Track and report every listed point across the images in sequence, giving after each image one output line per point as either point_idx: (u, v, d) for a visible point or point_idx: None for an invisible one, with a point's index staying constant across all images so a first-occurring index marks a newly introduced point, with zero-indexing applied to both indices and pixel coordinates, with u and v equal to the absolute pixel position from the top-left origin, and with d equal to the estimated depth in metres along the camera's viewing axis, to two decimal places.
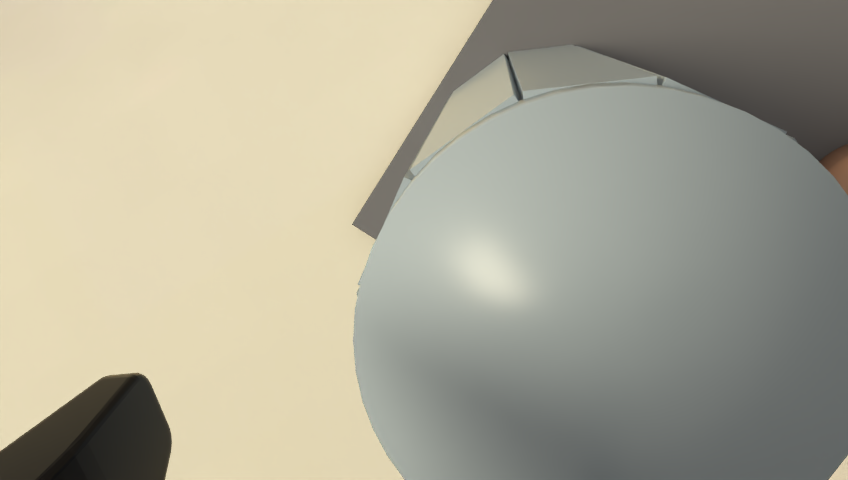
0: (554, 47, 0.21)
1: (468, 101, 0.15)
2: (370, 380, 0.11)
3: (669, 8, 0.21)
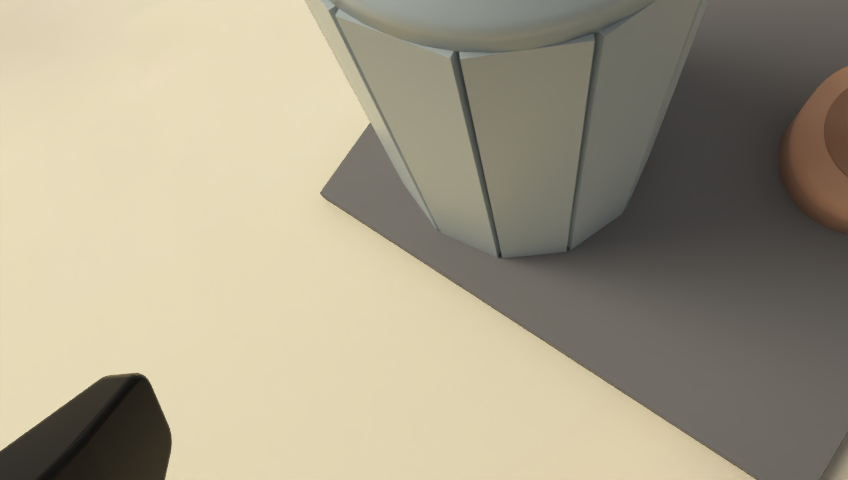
0: None
1: None
2: None
3: None
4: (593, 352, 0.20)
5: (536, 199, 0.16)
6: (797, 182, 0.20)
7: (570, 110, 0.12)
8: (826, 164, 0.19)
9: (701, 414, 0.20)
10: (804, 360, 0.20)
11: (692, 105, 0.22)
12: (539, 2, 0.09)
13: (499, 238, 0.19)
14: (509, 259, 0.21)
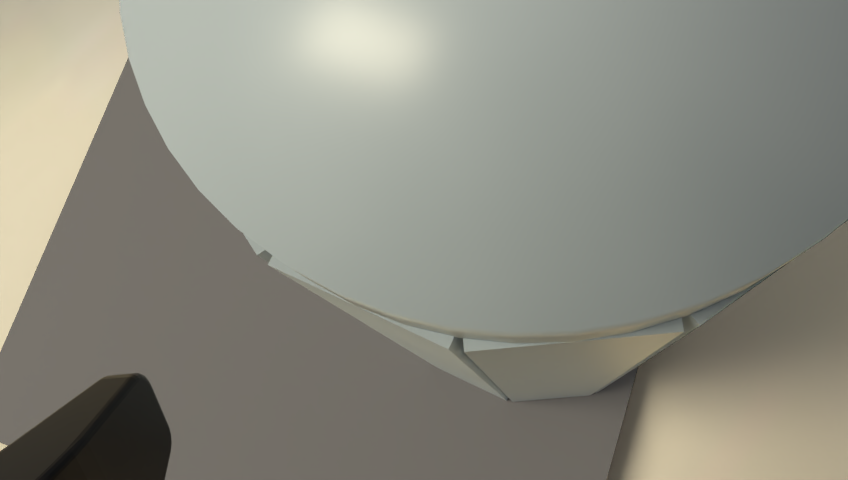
0: None
1: None
2: None
3: None
4: None
5: (561, 386, 0.13)
6: None
7: (625, 358, 0.08)
8: None
9: None
10: None
11: None
12: (600, 302, 0.05)
13: (510, 398, 0.15)
14: (186, 454, 0.18)
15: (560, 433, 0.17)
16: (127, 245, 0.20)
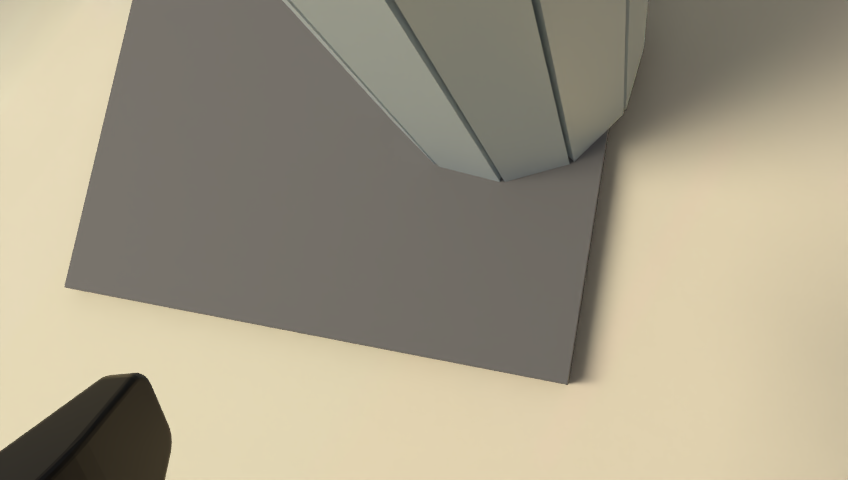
0: None
1: None
2: None
3: None
4: (343, 325, 0.21)
5: (515, 110, 0.15)
6: None
7: (513, 0, 0.11)
8: None
9: (453, 340, 0.20)
10: (522, 251, 0.20)
11: None
12: None
13: (492, 160, 0.18)
14: (243, 274, 0.22)
15: (548, 199, 0.20)
16: (166, 117, 0.23)
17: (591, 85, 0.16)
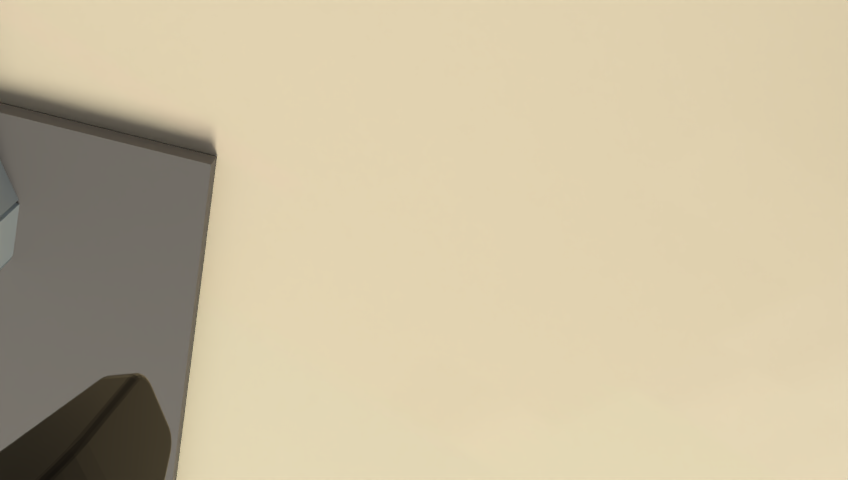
0: None
1: None
2: None
3: None
4: (175, 343, 0.23)
5: None
6: None
7: None
8: None
9: (179, 256, 0.21)
10: (85, 190, 0.20)
11: None
12: None
13: None
14: None
15: (30, 162, 0.20)
16: None
17: None
